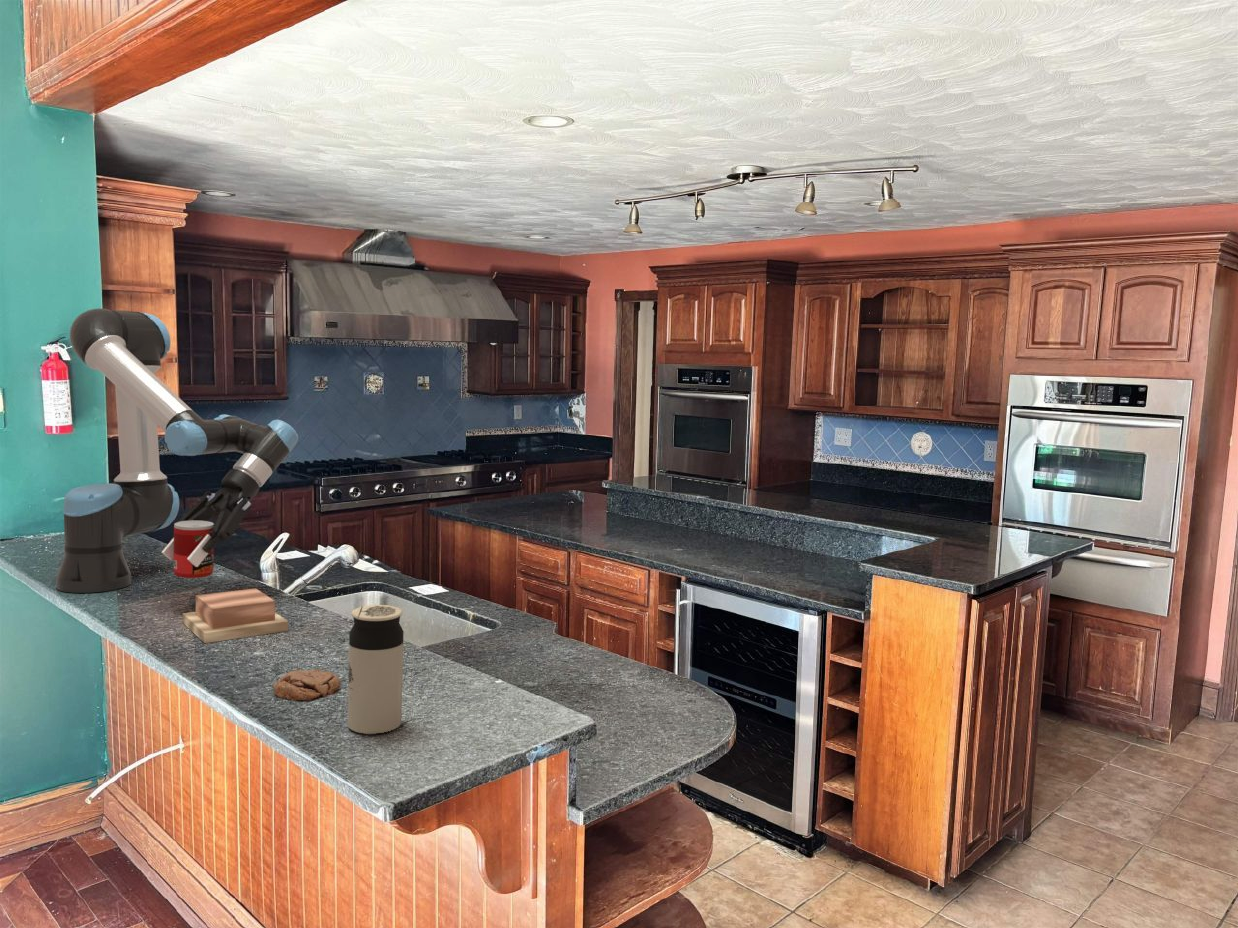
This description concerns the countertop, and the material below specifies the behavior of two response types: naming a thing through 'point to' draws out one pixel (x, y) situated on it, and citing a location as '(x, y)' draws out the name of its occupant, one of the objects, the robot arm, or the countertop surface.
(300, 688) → the cookie
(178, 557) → the canned food
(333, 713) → the countertop surface
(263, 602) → the stand
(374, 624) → the travel mug
